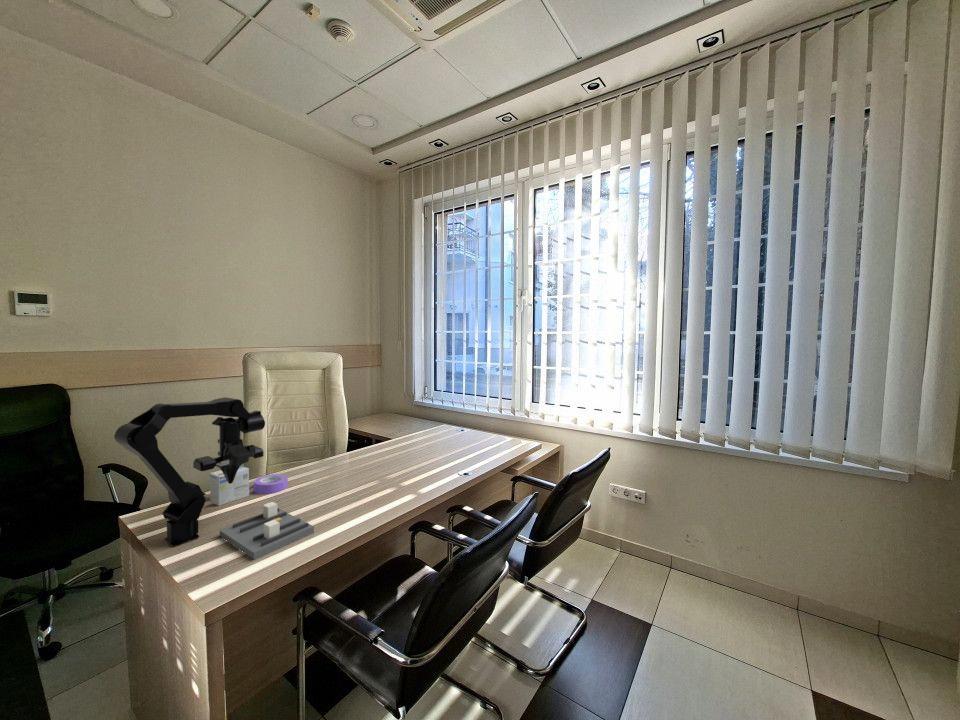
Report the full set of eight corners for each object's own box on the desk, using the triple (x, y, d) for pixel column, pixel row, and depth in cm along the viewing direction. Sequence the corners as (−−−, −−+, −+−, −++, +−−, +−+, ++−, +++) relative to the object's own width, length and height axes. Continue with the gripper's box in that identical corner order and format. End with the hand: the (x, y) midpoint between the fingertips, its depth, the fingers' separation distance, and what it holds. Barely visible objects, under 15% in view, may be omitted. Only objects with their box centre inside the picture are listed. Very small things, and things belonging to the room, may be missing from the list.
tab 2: (269, 540, 110) (269, 526, 109) (263, 536, 111) (263, 523, 111) (279, 535, 112) (279, 522, 112) (273, 532, 114) (274, 519, 114)
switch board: (254, 559, 104) (254, 549, 104) (219, 536, 115) (219, 526, 114) (313, 532, 119) (314, 523, 119) (278, 514, 130) (278, 505, 130)
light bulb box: (240, 491, 146) (240, 464, 145) (249, 496, 143) (249, 468, 142) (209, 501, 137) (208, 472, 136) (218, 506, 134) (218, 476, 133)
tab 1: (268, 519, 121) (268, 507, 121) (263, 516, 123) (263, 504, 123) (277, 516, 124) (277, 504, 123) (272, 513, 125) (272, 501, 125)
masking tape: (279, 480, 159) (280, 471, 158) (292, 488, 151) (292, 479, 151) (249, 488, 150) (249, 479, 149) (261, 497, 142) (261, 487, 142)
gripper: (208, 447, 111) (209, 499, 112) (272, 435, 127) (272, 480, 128) (192, 440, 117) (192, 490, 118) (254, 429, 133) (254, 473, 134)
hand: (230, 483), depth 125 cm, fingers closed
